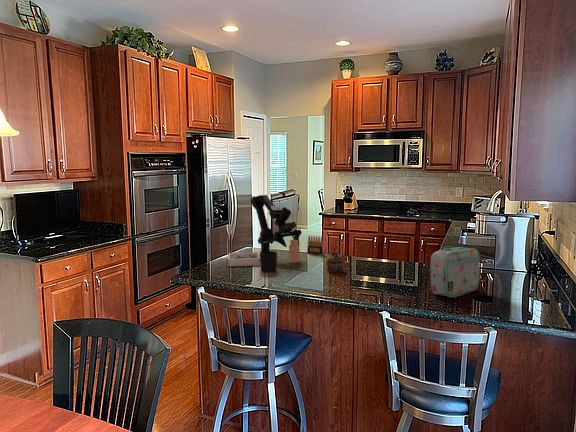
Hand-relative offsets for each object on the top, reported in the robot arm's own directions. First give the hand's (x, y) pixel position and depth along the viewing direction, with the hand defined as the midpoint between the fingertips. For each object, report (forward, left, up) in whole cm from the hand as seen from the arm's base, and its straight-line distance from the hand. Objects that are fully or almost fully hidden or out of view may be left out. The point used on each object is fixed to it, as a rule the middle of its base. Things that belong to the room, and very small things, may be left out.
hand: (292, 246), depth 261 cm
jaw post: (+1, +1, -9) cm, 9 cm away
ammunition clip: (-21, +18, -9) cm, 29 cm away
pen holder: (+21, -16, -9) cm, 29 cm away
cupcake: (+26, +20, -9) cm, 34 cm away
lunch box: (+74, +64, -9) cm, 98 cm away
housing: (-1, -29, -9) cm, 31 cm away
